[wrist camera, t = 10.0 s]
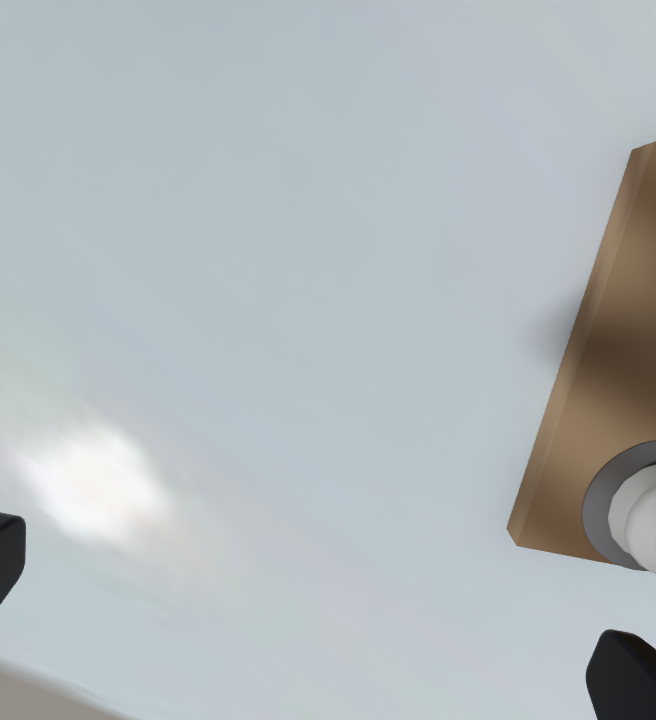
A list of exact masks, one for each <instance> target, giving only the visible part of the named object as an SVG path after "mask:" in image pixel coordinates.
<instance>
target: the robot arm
mask: <svg viewBox="0 0 656 720" xmlns="http://www.w3.org/2000/svg"><path fill="white" fill-rule="evenodd" d="M25 553H26V523H25V521H24V519H23V518H22V517H20V516H17V515H11V514H6V513H1V512H0V604H1V603H2V602H3V600H4V599H5V597H6V596H7V595H8V593H9V592H10V590H11V589H12V588H13V586H14V585H15V584H16V582H17V581H18V579H19V577H20V576H21V574H22V571H23V569H24V565H25ZM586 684H587V689H588V692H589V695H590V698H591V701H592V704H593V707H594V710H595V713H596V716H597V719H598V720H656V649H655V648H653V647H652V646H651V645H649V644H648V643H647V642H645V641H644V640H643V639H641V638H640V637H639V636H637V635H635V634H632V633H628V632H623V631H617V630H612V629H609V630H606V631H604V632H603V633H602V634H601V636H600V638H599V640H598V643H597V645H596V648H595V650H594V652H593V655H592V657H591V659H590V662H589V664H588V666H587V669H586Z"/></svg>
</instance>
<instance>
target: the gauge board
mask: <svg viewBox="0 0 656 720" xmlns="http://www.w3.org/2000/svg"><path fill="white" fill-rule="evenodd" d="M652 465H656V142H653V143H650V144H647V145H644V146H642V147H639V148H636V149H633V150H632V152H631V155H630V158H629V161H628V164H627V167H626V170H625V173H624V176H623V179H622V182H621V185H620V188H619V191H618V194H617V197H616V200H615V203H614V206H613V209H612V212H611V215H610V218H609V221H608V224H607V227H606V230H605V233H604V236H603V239H602V242H601V245H600V248H599V251H598V254H597V257H596V261H595V264H594V267H593V270H592V273H591V276H590V279H589V282H588V285H587V288H586V291H585V294H584V297H583V300H582V303H581V306H580V309H579V312H578V315H577V318H576V321H575V324H574V327H573V330H572V333H571V336H570V339H569V342H568V345H567V348H566V351H565V354H564V357H563V360H562V363H561V366H560V369H559V372H558V375H557V378H556V381H555V384H554V387H553V390H552V393H551V396H550V399H549V402H548V405H547V408H546V411H545V414H544V417H543V420H542V423H541V426H540V429H539V432H538V435H537V438H536V441H535V444H534V447H533V450H532V453H531V456H530V459H529V462H528V465H527V468H526V471H525V474H524V477H523V480H522V483H521V486H520V489H519V492H518V495H517V498H516V501H515V504H514V507H513V510H512V513H511V516H510V519H509V522H508V525H507V530H508V532H509V534H510V535H511V537H512V539H513V541H514V542H515V544H516V546H520V547H525V548H530V549H536V550H541V551H546V552H551V553H557V554H562V555H567V556H572V557H578V558H583V559H588V560H593V561H598V562H604V563H609V564H614V565H619V566H622V567H625V568H629V569H633V570H641V571H649V570H647V569H646V568H644V567H642V566H641V565H639V564H638V562H637V561H636V560H635V559H634V558H633V557H632V555H631V554H630V553H627V552H625V551H624V550H623V549H622V548H621V547H620V545H619V544H618V543H617V542H616V541H615V540H614V538H613V537H612V534H611V530H610V526H609V521H608V515H609V510H610V506H611V502H612V498H613V494H614V493H615V491H616V490H617V489H618V487H619V486H620V485H621V483H622V482H623V480H624V479H626V478H627V477H629V476H630V475H632V474H633V473H635V472H636V471H638V470H639V469H641V468H645V467H649V466H652Z"/></svg>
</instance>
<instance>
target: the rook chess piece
mask: <svg viewBox="0 0 656 720" xmlns="http://www.w3.org/2000/svg"><path fill="white" fill-rule="evenodd" d="M608 521H609V526H610V530H611V534H612V537H613V538H614V540H615V541H616V542H617V543H618V544H619V545H620V547H621V548H622V549H623V550H624V551H625V552H627V553H630V554H631V555H632V557H633V558H634V559H635V560H636V561H637V562H638V564H639V565H641V566H642V567H644V568H646V569H647V570H649V571H651V572H653V573H656V465H652V466H649V467H645V468H641V469H639V470H638V471H636V472H635V473H633V474H632V475H630V476H629V477H627V478H626V479H624V480H623V482H622V483H621V485H620V486H619V487H618V489H617V490H616V491H615V493H614V494H613V498H612V502H611V506H610V510H609V515H608Z"/></svg>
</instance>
